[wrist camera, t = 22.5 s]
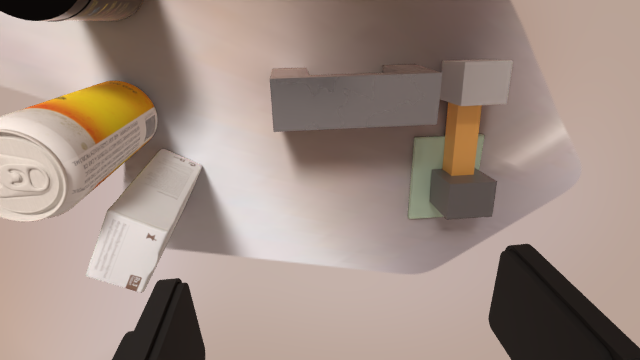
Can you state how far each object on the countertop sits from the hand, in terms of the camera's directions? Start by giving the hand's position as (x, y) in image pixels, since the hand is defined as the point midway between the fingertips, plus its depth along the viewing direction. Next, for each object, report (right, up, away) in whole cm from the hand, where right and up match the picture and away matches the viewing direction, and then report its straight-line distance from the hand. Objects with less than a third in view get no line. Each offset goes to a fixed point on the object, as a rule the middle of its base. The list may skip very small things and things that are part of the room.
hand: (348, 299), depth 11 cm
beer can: (-18, +10, +22) cm, 31 cm away
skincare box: (-15, +3, +25) cm, 30 cm away
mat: (+12, +4, +27) cm, 30 cm away
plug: (+13, +8, +25) cm, 29 cm away
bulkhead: (+1, +12, +23) cm, 26 cm away
